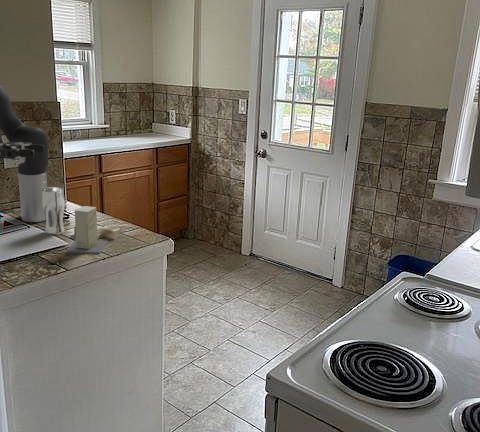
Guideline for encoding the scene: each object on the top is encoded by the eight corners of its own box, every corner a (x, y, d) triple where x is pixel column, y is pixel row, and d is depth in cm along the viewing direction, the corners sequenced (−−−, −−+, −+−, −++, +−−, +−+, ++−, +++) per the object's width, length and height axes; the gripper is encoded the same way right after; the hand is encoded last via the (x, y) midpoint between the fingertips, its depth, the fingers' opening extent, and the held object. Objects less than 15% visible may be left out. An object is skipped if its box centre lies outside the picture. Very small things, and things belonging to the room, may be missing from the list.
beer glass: (55, 227, 169) (53, 185, 164) (70, 231, 166) (68, 188, 162) (39, 232, 163) (36, 189, 158) (54, 236, 160) (52, 193, 156)
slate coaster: (75, 241, 157) (75, 239, 157) (106, 242, 158) (106, 240, 158) (66, 252, 148) (66, 250, 148) (99, 253, 149) (99, 252, 148)
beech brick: (100, 236, 164) (100, 228, 163) (106, 233, 166) (106, 225, 165) (114, 239, 161) (114, 231, 160) (120, 237, 164) (120, 229, 163)
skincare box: (88, 249, 150) (87, 212, 146) (75, 247, 150) (73, 210, 147) (98, 242, 156) (97, 206, 152) (85, 241, 156) (84, 205, 153)
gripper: (-31, 139, 134) (29, 142, 135) (-8, 132, 148) (46, 135, 149) (-28, 165, 136) (31, 168, 137) (-6, 156, 150) (47, 159, 151)
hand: (39, 151), depth 143 cm, fingers open, 8 cm apart
